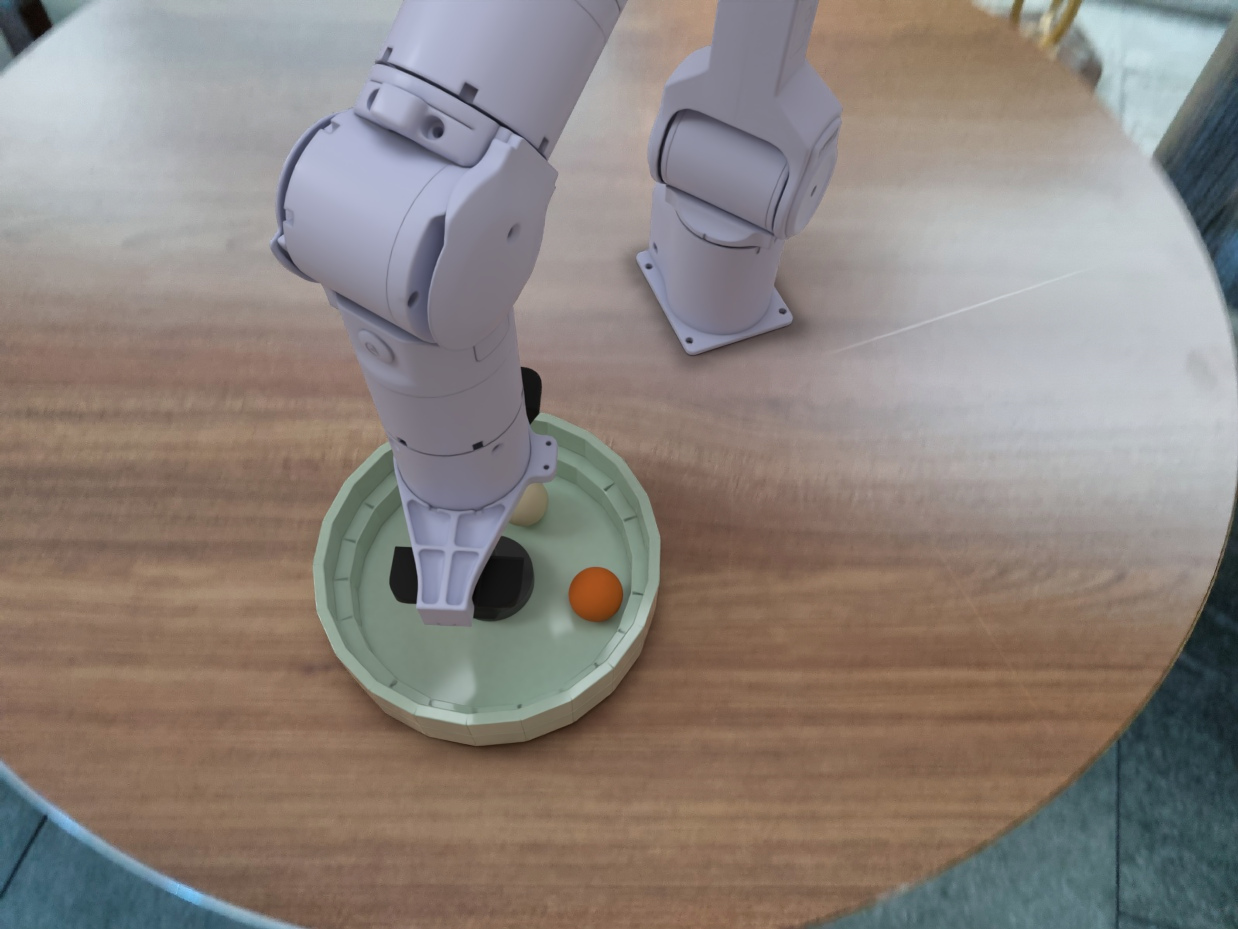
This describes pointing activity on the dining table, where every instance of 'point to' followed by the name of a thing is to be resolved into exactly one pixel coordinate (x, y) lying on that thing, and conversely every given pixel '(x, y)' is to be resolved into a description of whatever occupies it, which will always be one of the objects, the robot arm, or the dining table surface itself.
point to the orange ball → (595, 594)
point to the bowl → (505, 649)
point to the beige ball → (530, 506)
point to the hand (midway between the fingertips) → (486, 541)
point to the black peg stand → (516, 550)
